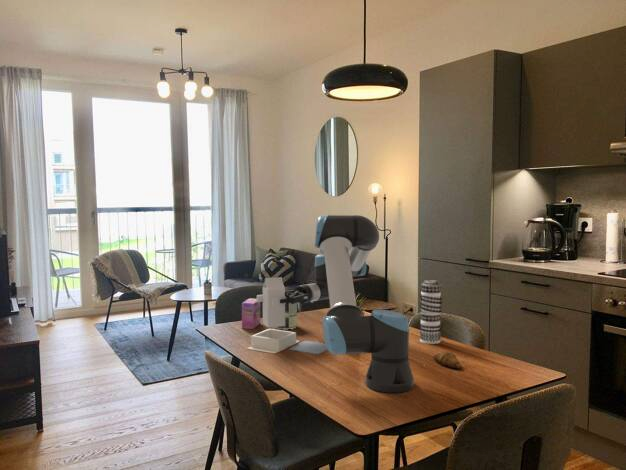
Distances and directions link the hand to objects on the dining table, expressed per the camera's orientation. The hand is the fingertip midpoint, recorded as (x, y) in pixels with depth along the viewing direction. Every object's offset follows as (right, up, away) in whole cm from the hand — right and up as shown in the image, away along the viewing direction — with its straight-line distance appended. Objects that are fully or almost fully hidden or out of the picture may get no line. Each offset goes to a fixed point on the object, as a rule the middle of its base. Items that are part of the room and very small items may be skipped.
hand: (264, 300), depth 207 cm
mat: (+18, -19, +1) cm, 26 cm away
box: (-9, -16, +35) cm, 40 cm away
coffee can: (+7, -16, +33) cm, 38 cm away
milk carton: (+3, -10, +4) cm, 12 cm away
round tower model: (+67, -18, +10) cm, 70 cm away
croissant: (+67, -21, -19) cm, 72 cm away
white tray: (+3, -18, +4) cm, 19 cm away
